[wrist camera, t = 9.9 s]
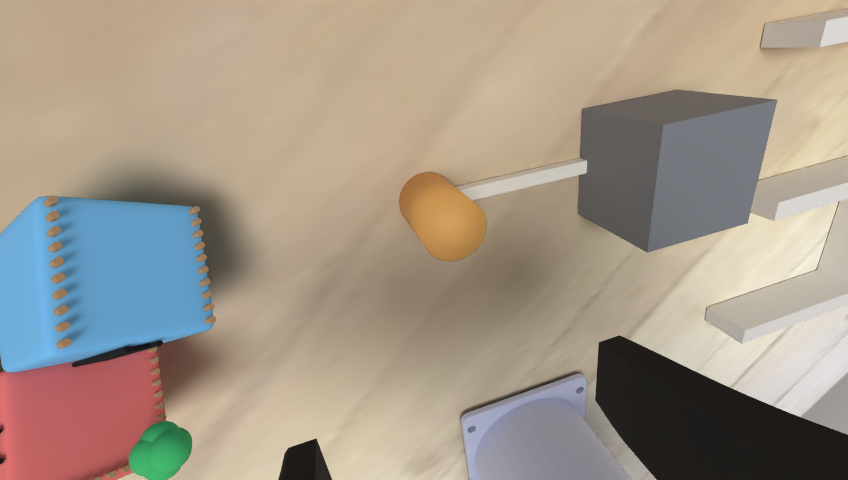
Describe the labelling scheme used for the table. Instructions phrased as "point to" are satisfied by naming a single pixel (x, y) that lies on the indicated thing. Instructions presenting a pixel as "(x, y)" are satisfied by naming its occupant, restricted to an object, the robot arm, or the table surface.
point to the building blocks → (95, 336)
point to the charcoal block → (625, 174)
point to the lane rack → (792, 194)
